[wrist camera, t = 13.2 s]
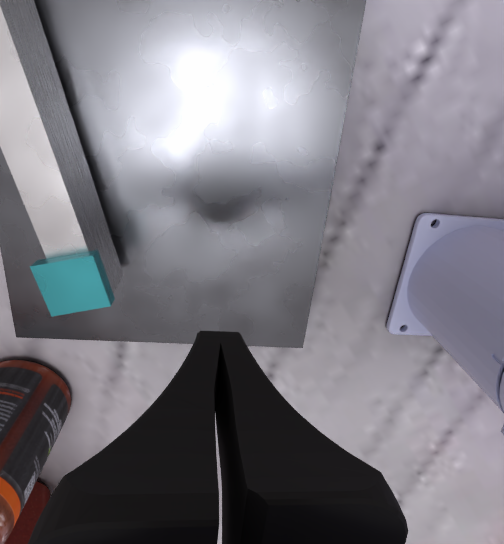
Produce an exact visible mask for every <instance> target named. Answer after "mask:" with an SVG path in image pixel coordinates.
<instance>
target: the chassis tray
mask: <svg viewBox="0 0 504 544" xmlns="http://www.w3.org/2000/svg"><path fill="white" fill-rule="evenodd" d="M34 2H35V5H36V8H37V11H38V14H39V18H40V21H41V24H42V27H43V30H44V33H45V36H46V39H47V42H48V45H49V48H50V51H51V54H52V57H53V60H54V63H55V66H56V69H57V73H58V76H59V79H60V82H61V85H62V88H63V91H64V94H65V97H66V100H67V103H68V106H69V109H70V112H71V115H72V118H73V121H74V124H75V128H76V131H77V134H78V137H79V140H80V143H81V146H82V149H83V152H84V155H85V158H86V161H87V164H88V167H89V170H90V173H91V176H92V179H93V182H94V186H95V189H96V192H97V195H98V198H99V201H100V204H101V207H102V210H103V213H104V216H105V219H106V222H107V225H108V228H109V231H110V234H111V237H112V241H113V244H114V247H115V250H116V253H117V256H118V259H119V262H120V265H121V268H122V271H123V274H124V275H123V277H122V279H121V281H120V283H119V284H118V286H117V288H116V290H115V292H114V293H113V294H114V297H115V300H114V301H113V303H112V305H111V306H110V307H104V308H98V309H93V310H87V311H81V312H75V313H70V314H64V315H58V316H53V317H51V314H50V312H49V310H48V307H47V305H46V303H45V301H44V298H43V296H42V294H41V291H40V289H39V287H38V285H37V282H36V280H35V278H34V275H33V273H32V271H31V269H30V266H31V265H32V264H33V263H34V262H36V261H37V260H41V259H47V258H46V256H45V254H44V251H43V249H42V246H41V244H40V241H39V239H38V237H37V234H36V232H35V229H34V227H33V225H32V222H31V220H30V217H29V215H28V212H27V210H26V208H25V205H24V203H23V200H22V198H21V195H20V193H19V191H18V188H17V186H16V183H15V181H14V179H13V176H12V174H11V171H10V169H9V166H8V164H7V162H6V159H5V157H4V154H3V152H2V149H1V147H0V247H1V253H2V259H3V265H4V270H5V276H6V282H7V287H8V293H9V299H10V305H11V310H12V316H13V322H14V327H15V333H16V337H22V338H49V339H76V340H103V341H130V342H157V343H184V344H194V342H195V339H196V336H197V333H198V332H200V331H226V332H239V333H240V334H241V335H242V337H243V339H244V341H245V343H246V345H247V346H265V347H292V348H303V343H304V338H305V332H306V327H307V322H308V316H309V311H310V305H311V300H312V294H313V289H314V283H315V278H316V272H317V267H318V261H319V256H320V250H321V245H322V240H323V234H324V229H325V223H326V218H327V212H328V207H329V201H330V196H331V190H332V185H333V179H334V174H335V168H336V163H337V158H338V152H339V147H340V141H341V136H342V130H343V125H344V119H345V114H346V108H347V103H348V97H349V92H350V86H351V81H352V76H353V70H354V65H355V59H356V54H357V48H358V43H359V37H360V32H361V26H362V21H363V15H364V10H365V4H366V0H34Z"/></svg>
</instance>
